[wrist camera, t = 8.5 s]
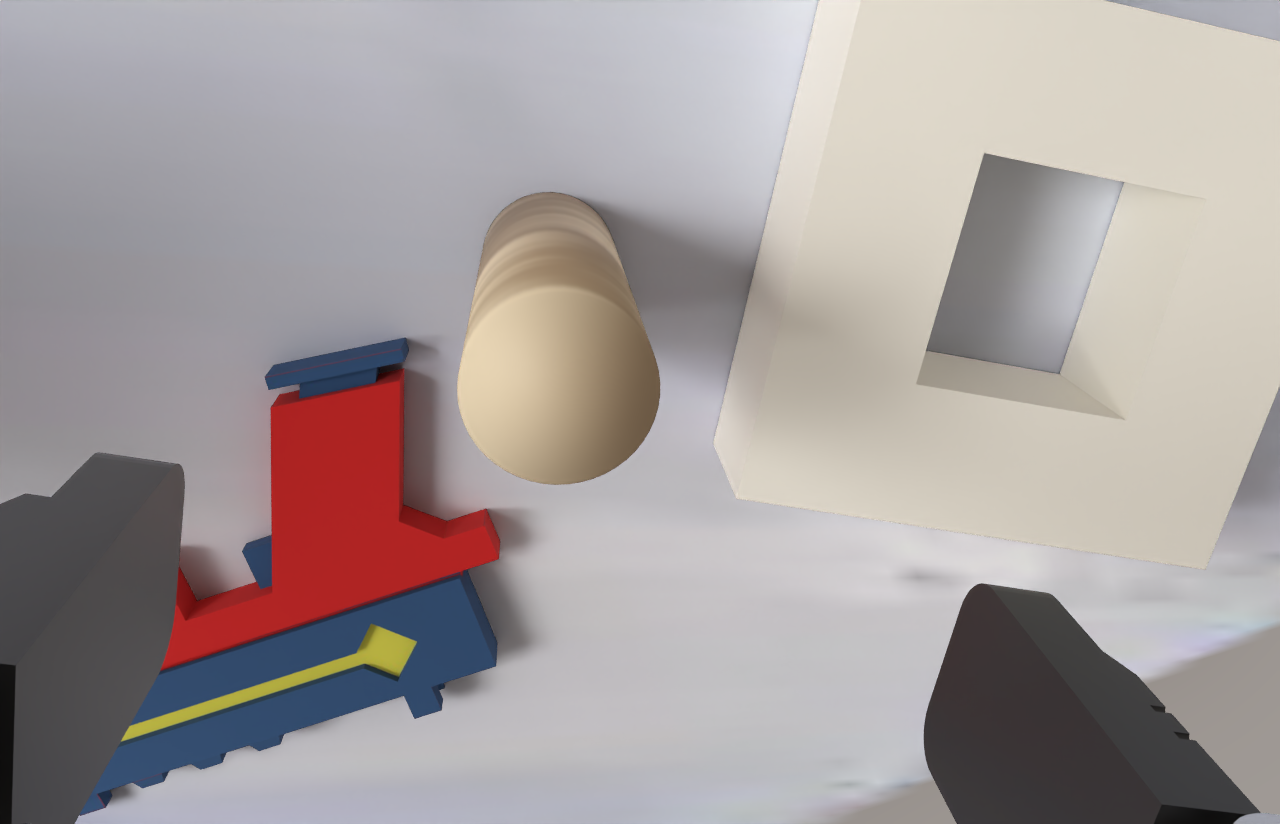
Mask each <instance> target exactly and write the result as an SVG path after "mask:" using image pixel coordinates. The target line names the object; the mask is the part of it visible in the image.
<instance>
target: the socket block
mask: <svg viewBox="0 0 1280 824" xmlns="http://www.w3.org/2000/svg"><path fill="white" fill-rule="evenodd" d="M984 153H986V154H991V155H996V156H1001V157H1005V158H1010V159H1015V160H1020V161H1025V162H1030V163H1034V164H1039V165H1044V166H1049V167H1054V168H1058V169H1063V170H1068V171H1073V172H1078V173H1083V174H1087V175H1092V176H1097V177H1102V178H1107V179H1112V180H1116V181H1121V182H1124V185H1123V187H1122V190H1121V193H1120V196H1119V199H1118V202H1117V205H1116V208H1115V211H1114V214H1113V217H1112V220H1111V223H1110V226H1109V229H1108V232H1107V235H1106V238H1105V241H1104V244H1103V247H1102V250H1101V253H1100V256H1099V259H1098V262H1097V265H1096V268H1095V270H1094V273H1093V276H1092V279H1091V282H1090V285H1089V288H1088V291H1087V294H1086V297H1085V300H1084V303H1083V306H1082V309H1081V312H1080V315H1079V318H1078V321H1077V324H1076V327H1075V330H1074V333H1073V336H1072V339H1071V342H1070V345H1069V348H1068V350H1067V353H1066V356H1065V359H1064V362H1063V365H1062V368H1061V371H1060V374H1055V373H1050V372H1044V371H1039V370H1033V369H1027V368H1022V367H1016V366H1010V365H1005V364H999V363H993V362H988V361H982V360H976V359H971V358H965V357H959V356H954V355H948V354H942V353H937V352H931V351H926V348H927V345H928V342H929V338H930V335H931V331H932V328H933V325H934V321H935V318H936V314H937V311H938V308H939V304H940V301H941V298H942V294H943V291H944V287H945V284H946V281H947V277H948V274H949V270H950V267H951V264H952V260H953V257H954V254H955V250H956V247H957V243H958V240H959V237H960V233H961V230H962V226H963V223H964V220H965V216H966V213H967V210H968V206H969V203H970V199H971V196H972V193H973V189H974V186H975V182H976V179H977V176H978V172H979V169H980V165H981V162H982V159H983V155H984ZM1279 387H1280V41H1277V40H1272V39H1268V38H1264V37H1260V36H1255V35H1251V34H1247V33H1242V32H1238V31H1234V30H1230V29H1225V28H1221V27H1217V26H1212V25H1208V24H1204V23H1200V22H1195V21H1191V20H1187V19H1183V18H1178V17H1174V16H1170V15H1165V14H1161V13H1157V12H1153V11H1148V10H1144V9H1140V8H1136V7H1131V6H1127V5H1123V4H1118V3H1114V2H1110V1H1106V0H819V2H818V6H817V10H816V14H815V19H814V23H813V27H812V31H811V35H810V39H809V44H808V48H807V52H806V56H805V60H804V65H803V69H802V73H801V77H800V81H799V86H798V90H797V94H796V98H795V102H794V106H793V111H792V115H791V119H790V123H789V127H788V132H787V136H786V140H785V144H784V148H783V152H782V157H781V161H780V165H779V169H778V173H777V178H776V182H775V186H774V190H773V194H772V199H771V203H770V207H769V211H768V215H767V219H766V224H765V228H764V232H763V236H762V240H761V245H760V249H759V253H758V257H757V261H756V266H755V270H754V274H753V278H752V282H751V286H750V291H749V295H748V299H747V303H746V307H745V312H744V316H743V320H742V324H741V328H740V333H739V337H738V341H737V345H736V349H735V353H734V358H733V362H732V366H731V370H730V374H729V379H728V383H727V387H726V391H725V395H724V400H723V404H722V408H721V412H720V416H719V420H718V425H717V429H716V433H715V437H714V441H713V445H714V447H715V449H716V452H717V454H718V456H719V459H720V461H721V464H722V466H723V468H724V471H725V473H726V476H727V478H728V480H729V483H730V485H731V487H732V490H733V492H734V495H735V497H736V499H741V500H748V501H754V502H761V503H767V504H774V505H781V506H787V507H794V508H800V509H807V510H814V511H820V512H827V513H833V514H840V515H847V516H853V517H860V518H866V519H873V520H880V521H886V522H893V523H899V524H906V525H913V526H919V527H926V528H933V529H939V530H946V531H952V532H959V533H966V534H972V535H979V536H985V537H992V538H999V539H1005V540H1012V541H1018V542H1025V543H1032V544H1038V545H1045V546H1051V547H1058V548H1065V549H1071V550H1078V551H1084V552H1091V553H1098V554H1104V555H1111V556H1118V557H1124V558H1131V559H1137V560H1144V561H1151V562H1157V563H1164V564H1170V565H1177V566H1184V567H1190V568H1197V569H1203V570H1206V567H1207V565H1208V562H1209V560H1210V557H1211V555H1212V552H1213V550H1214V547H1215V545H1216V542H1217V540H1218V537H1219V535H1220V532H1221V530H1222V527H1223V525H1224V523H1225V520H1226V518H1227V515H1228V513H1229V510H1230V508H1231V505H1232V503H1233V500H1234V498H1235V495H1236V493H1237V490H1238V488H1239V485H1240V483H1241V481H1242V478H1243V476H1244V473H1245V471H1246V468H1247V466H1248V463H1249V461H1250V458H1251V456H1252V453H1253V451H1254V448H1255V446H1256V443H1257V441H1258V439H1259V436H1260V434H1261V431H1262V429H1263V426H1264V424H1265V421H1266V419H1267V416H1268V414H1269V411H1270V409H1271V406H1272V404H1273V401H1274V399H1275V396H1276V394H1277V392H1278V389H1279Z"/></svg>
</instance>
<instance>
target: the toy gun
mask: <svg viewBox="0 0 1280 824" xmlns="http://www.w3.org/2000/svg"><path fill="white" fill-rule="evenodd" d="M408 351H409V349H408V345H407V341H406V338H401V339H396V340H392V341H387V342H382V343H377V344H372V345H368V346H363V347H358V348H353V349H348V350H344V351H339V352H334V353H329V354H324V355H320V356H315V357H310V358H305V359H301V360H296V361H291V362H286V363H281V364H277V365H273V367H272V368H271V369H270V371H269V372H268V373H267V375H266V376H265V380H266V383H267V386H268V389H269V390H271V389H275V388H280V387H285V386H290V385H295V384H299V383H300V390H298V391H294V392H289V393H284V394H280V395H279V396H278V398H277V399H276V401H275V402H274V403H273V405H272V406H271V507H272V535H271V536H268V537H265V538H261V539H258V540H255V541H252V542H249V543H247V544H246V545H245V547H244V549H243V551H242V552H243V554H244V556H245V558H246V560H247V563H248V565H249V567H250V569H251V571H252V573H253V575H254V577H255V579H256V581H257V582H255V583H252V584H248V585H245V586H242V587H239V588H236V589H233V590H230V591H227V592H224V593H221V594H218V595H214V596H211V597H208V598H205V599H202V600H199V601H197V600H196V598H195V596H194V594H193V592H192V590H191V588H190V587H189V585H188V583H187V581H186V579H185V577H184V575H183V573H182V571H181V569H180V567H179V568H178V581H177V594H176V607H175V616H174V623H173V628H172V633H171V638H170V642H169V646H168V650H167V653H166V656H165V659H164V662H163V665H162V667H161V670H160V672H159V674H158V676H157V678H156V680H155V682H154V684H153V685H152V687H151V689H150V691H149V692H148V694H147V696H146V698H145V700H144V701H143V703H142V705H141V707H140V708H139V710H138V712H137V714H136V715H135V717H134V719H133V721H132V723H131V724H130V726H129V728H128V730H127V731H126V733H125V735H124V737H123V738H122V740H121V742H120V744H119V746H118V747H117V749H116V751H115V753H114V754H113V756H112V758H111V760H110V761H109V763H108V765H107V767H106V769H105V770H104V772H103V774H102V776H101V777H100V779H99V781H98V783H97V784H96V786H95V788H94V790H93V792H92V793H91V795H90V797H89V799H88V800H87V802H86V804H85V806H84V807H83V809H82V811H81V813H80V816H81V815H84V814H87V813H90V812H94V811H97V810H100V809H103V808H106V806H107V804H108V802H109V801H110V799H111V797H112V794H111V792H110V790H111V789H114V788H117V787H120V786H123V785H126V784H129V783H134V784H136V785H138V786H140V787H141V788H145V787H148V786H151V785H155V784H158V783H161V782H164V781H165V779H166V776H167V774H168V772H169V771H170V770H173V769H176V768H179V767H182V766H186V765H189V764H192V765H194V766H195V767H197V768H199V769H205V768H208V767H211V766H214V765H217V764H220V763H222V762H223V760H224V757H225V755H226V753H227V752H229V751H232V750H236V749H239V748H242V747H245V746H248V745H250V746H252V747H253V748H255V749H257V750H258V751H261V750H264V749H267V748H270V747H273V746H276V745H280V744H281V741H282V738H283V736H284V734H286V733H289V732H292V731H295V730H298V729H301V728H304V727H307V726H311V725H314V724H317V723H320V722H323V721H326V720H329V719H332V718H336V717H339V716H342V715H345V714H348V713H351V712H354V711H357V710H361V709H364V708H367V707H370V706H373V705H376V704H379V703H382V702H386V701H389V700H392V699H395V698H398V697H401V696H404V697H405V699H406V701H407V703H408V706H409V708H410V710H411V712H412V714H413V717H414V719H416V718H419V717H422V716H425V715H428V714H431V713H435V712H438V711H441V710H442V703H443V698H442V696H441V693H440V691H439V690H441V689H444V688H445V685H444V683H445V682H448V681H451V680H454V679H457V678H461V677H464V676H467V675H470V674H473V673H476V672H479V671H482V670H486V669H489V668H492V667H495V666H496V660H497V641H496V638H495V636H494V634H493V631H492V629H491V626H490V624H489V622H488V619H487V617H486V614H485V612H484V610H483V607H482V605H481V602H480V600H479V598H478V595H477V593H476V590H475V588H474V585H473V583H472V581H471V578H470V576H469V573H468V571H467V569H470V568H473V567H476V566H479V565H482V564H485V563H488V562H491V561H494V560H497V559H499V550H500V540H499V537H498V535H497V533H496V530H495V528H494V526H493V523H492V521H491V519H490V516H489V514H488V512H487V509H483V510H480V511H477V512H474V513H471V514H468V515H465V516H462V517H459V518H456V519H452V520H449V521H445V520H442V519H439V518H437V517H434V516H431V515H429V514H426V513H423V512H421V511H418V510H415V509H413V508H410V507H408V506H405V505H403V471H404V369H399V370H394V371H389V372H384V373H380V374H379V371H380V367H381V366H386V365H391V364H395V363H400V362H405V359H406V356H407V354H408Z"/></svg>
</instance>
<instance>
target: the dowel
mask: <svg viewBox="0 0 1280 824" xmlns="http://www.w3.org/2000/svg"><path fill="white" fill-rule="evenodd" d="M457 396H458V404H459V409H460V414H461V417H462V420H463V422H464V425H465V427H466V429H467V431H468V433H469V435H470V437H471V438H472V440H473V441H474V443H475V444H476V445H477V447H478V448H479V449H480V450H481V451H482V452H483V453H484V455H485V456H486V457H488V458H489V459H490V460H491V461H492V462H493V463H495V464H496V465H498V466H499V467H501V468H502V469H504V470H505V471H507V472H509V473H511V474H513V475H515V476H517V477H520V478H523V479H526V480H529V481H533V482H538V483H543V484H554V485H558V484H572V483H579V482H583V481H587V480H590V479H594V478H596V477H598V476H601V475H603V474H605V473H607V472H609V471H611V470H612V469H614V468H616V467H617V466H619V465H620V464H621V463H623V462H624V461H625V460H627V459H628V458H629V457H630V456H631V455H632V454H633V453H634V452H635V451H636V450H637V448H638V447H639V446H640V445H641V443H642V442H643V441H644V439H645V437H646V436H647V434H648V433H649V431H650V429H651V427H652V424H653V422H654V420H655V417H656V413H657V410H658V405H659V398H660V378H659V370H658V366H657V363H656V359H655V356H654V353H653V350H652V348H651V345H650V342H649V339H648V336H647V334H646V331H645V328H644V325H643V323H642V320H641V317H640V314H639V311H638V309H637V306H636V303H635V300H634V298H633V295H632V292H631V289H630V286H629V284H628V281H627V278H626V275H625V272H624V270H623V267H622V264H621V261H620V259H619V256H618V253H617V250H616V247H615V245H614V242H613V239H612V236H611V234H610V232H609V229H608V228H607V226H606V224H605V222H604V221H603V220H602V218H601V217H600V216H599V215H598V214H597V213H596V212H595V211H594V210H593V209H592V208H591V207H590V206H588V205H587V204H586V203H584V202H582V201H580V200H579V199H577V198H574V197H572V196H569V195H565V194H561V193H554V192H542V193H535V194H531V195H528V196H525V197H522V198H520V199H518V200H516V201H514V202H513V203H511V204H510V205H508V206H507V207H506V208H505V209H503V210H502V211H501V212H500V213H499V215H498V216H497V217H496V218H495V220H494V221H493V222H492V224H491V226H490V228H489V230H488V232H487V235H486V237H485V241H484V245H483V250H482V255H481V260H480V265H479V270H478V276H477V281H476V286H475V291H474V296H473V301H472V306H471V312H470V317H469V322H468V327H467V332H466V337H465V342H464V348H463V353H462V358H461V363H460V368H459V373H458V383H457Z"/></svg>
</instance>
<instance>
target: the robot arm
mask: <svg viewBox="0 0 1280 824" xmlns="http://www.w3.org/2000/svg"><path fill="white" fill-rule="evenodd" d="M184 489H185V481H184V473H183V469H182V467H181V465H180V464H174V463H167V462H161V461H154V460H147V459H140V458H133V457H126V456H120V455H113V454H106V453H99V452H98V453H95V454H94V455H93V456H92V457H91V458H90V459H89V460H88V461H87V462H86V463H85V464H84V465H83V466H82V467H81V468H80V469H79V470H78V471H77V472H76V473H75V474H74V475H73V476H72V477H71V478H70V479H69V480H68V481H67V482H66V483H65V484H64V485H63V486H62V487H61V488H60V489H59V490H58V491H57V492H56V493H55V494H54V495H53V496H52V497H45V496H38V495H31V494H24V495H21V496H19V497H16V498H14V499H11V500H9V501H7V502H4V503H2V504H0V824H74V823H75V822H76V820H77V818H78V816H79V815H80V813H81V811H82V809H83V807H84V806H85V804H86V802H87V800H88V799H89V797H90V795H91V793H92V792H93V790H94V788H95V786H96V784H97V783H98V781H99V779H100V777H101V776H102V774H103V772H104V770H105V769H106V767H107V765H108V763H109V761H110V760H111V758H112V756H113V754H114V753H115V751H116V749H117V747H118V746H119V744H120V742H121V740H122V738H123V737H124V735H125V733H126V731H127V730H128V728H129V726H130V724H131V723H132V721H133V719H134V717H135V715H136V714H137V712H138V710H139V708H140V707H141V705H142V703H143V701H144V700H145V698H146V696H147V694H148V692H149V691H150V689H151V687H152V685H153V684H154V682H155V680H156V678H157V676H158V674H159V672H160V670H161V667H162V665H163V662H164V659H165V656H166V653H167V650H168V646H169V642H170V638H171V633H172V628H173V623H174V616H175V607H176V594H177V581H178V568H179V555H180V543H181V530H182V517H183V504H184ZM924 750H925V756H926V761H927V765H928V768H929V770H930V772H931V775H932V776H933V778H934V780H935V782H936V784H937V786H938V788H939V790H940V792H941V794H942V796H943V798H944V799H945V802H946V804H947V806H948V807H949V809H950V811H951V813H952V815H953V817H954V819H955V821H956V823H957V824H1280V815H1276V814H1269V813H1260V812H1259V810H1258V809H1257V808H1256V807H1255V806H1254V805H1253V804H1252V803H1251V802H1250V800H1249V799H1248V798H1247V797H1246V796H1245V795H1244V794H1243V793H1242V792H1241V790H1240V789H1239V788H1238V787H1237V786H1236V785H1235V784H1234V783H1233V782H1232V780H1231V779H1230V778H1229V777H1228V776H1227V775H1226V774H1225V773H1224V772H1223V770H1222V769H1221V768H1220V767H1219V766H1218V765H1217V764H1216V763H1215V762H1214V760H1213V759H1212V758H1211V757H1210V756H1209V755H1208V754H1207V753H1206V752H1205V750H1204V749H1203V748H1202V747H1201V746H1200V745H1199V744H1198V743H1197V742H1196V741H1194V740H1189V733H1188V732H1187V730H1186V729H1185V728H1184V727H1183V726H1182V725H1181V724H1180V723H1179V722H1178V721H1177V719H1176V718H1175V717H1174V716H1173V715H1172V714H1170V713H1165V706H1164V705H1163V704H1162V703H1161V702H1160V701H1159V699H1158V698H1157V697H1156V696H1155V695H1154V694H1153V693H1152V692H1151V691H1150V689H1149V688H1148V687H1147V686H1146V685H1145V684H1144V683H1143V682H1142V680H1141V679H1140V678H1139V677H1138V676H1137V675H1136V674H1134V673H1133V672H1132V671H1130V670H1129V669H1127V668H1126V667H1124V666H1123V665H1122V664H1120V663H1119V662H1117V661H1116V660H1114V659H1113V658H1112V657H1110V656H1109V655H1107V654H1106V653H1104V652H1103V651H1102V650H1101V649H1100V648H1099V647H1098V646H1097V644H1096V643H1095V642H1094V641H1093V640H1092V639H1091V638H1090V636H1089V635H1088V634H1087V633H1086V632H1085V631H1084V630H1083V628H1082V627H1081V626H1080V625H1079V624H1078V623H1077V622H1076V621H1075V619H1074V618H1073V617H1072V616H1071V615H1070V614H1069V613H1068V611H1067V610H1066V609H1065V608H1064V607H1063V606H1062V605H1061V604H1060V602H1059V601H1058V600H1057V599H1056V598H1055V597H1054V596H1053V595H1051V594H1049V593H1044V592H1037V591H1030V590H1023V589H1017V588H1010V587H1003V586H996V585H989V584H982V583H981V584H977V585H976V586H974V587H973V588H972V589H971V590H970V591H969V593H968V594H967V595H966V597H965V599H964V601H963V604H962V606H961V609H960V612H959V615H958V618H957V621H956V624H955V627H954V630H953V633H952V636H951V639H950V642H949V645H948V648H947V651H946V654H945V657H944V660H943V663H942V666H941V669H940V672H939V675H938V678H937V681H936V684H935V687H934V690H933V693H932V696H931V699H930V702H929V706H928V709H927V713H926V718H925V725H924Z"/></svg>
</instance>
